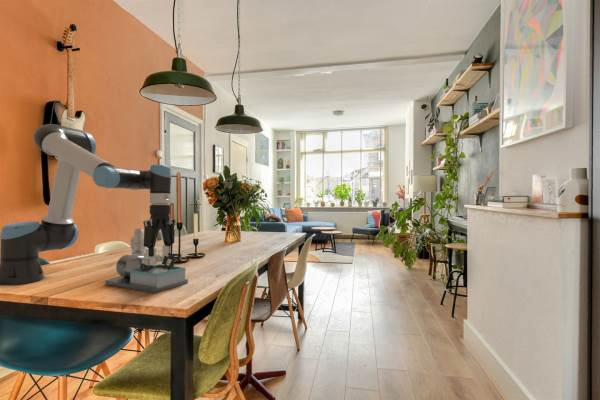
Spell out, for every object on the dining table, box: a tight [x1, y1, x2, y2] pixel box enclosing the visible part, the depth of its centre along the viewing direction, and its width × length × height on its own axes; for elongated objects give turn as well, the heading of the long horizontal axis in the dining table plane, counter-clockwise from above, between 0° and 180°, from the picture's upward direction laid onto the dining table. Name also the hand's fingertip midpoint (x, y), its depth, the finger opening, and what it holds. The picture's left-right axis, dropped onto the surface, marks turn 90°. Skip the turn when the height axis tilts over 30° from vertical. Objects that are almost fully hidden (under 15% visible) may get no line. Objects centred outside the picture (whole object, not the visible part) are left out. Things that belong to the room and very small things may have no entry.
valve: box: [144, 246, 177, 270], centre depth 126 cm, size 7×7×12 cm
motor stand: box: [105, 254, 189, 294], centre depth 128 cm, size 26×17×10 cm, turn 66°
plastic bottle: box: [130, 228, 146, 256], centre depth 146 cm, size 6×7×20 cm
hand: (159, 263), depth 126 cm, fingers closed on valve, 5 cm apart
